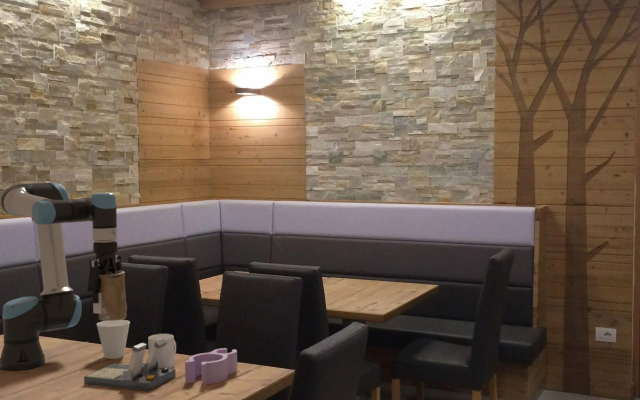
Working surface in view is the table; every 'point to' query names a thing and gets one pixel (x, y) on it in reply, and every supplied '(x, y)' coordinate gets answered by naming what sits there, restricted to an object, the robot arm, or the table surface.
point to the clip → (211, 366)
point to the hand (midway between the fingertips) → (107, 310)
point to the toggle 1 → (137, 358)
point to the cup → (113, 337)
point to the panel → (130, 377)
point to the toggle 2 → (155, 353)
